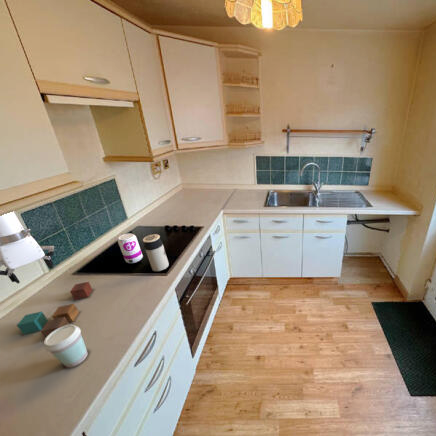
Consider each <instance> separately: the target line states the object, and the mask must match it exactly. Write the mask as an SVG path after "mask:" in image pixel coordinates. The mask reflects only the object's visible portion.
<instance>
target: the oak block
mask: <svg viewBox="0 0 436 436" xmlns="http://www.w3.org/2000/svg"><path fill="white" fill-rule="evenodd" d="M79 312H80V311H79V310H78V308H77V307H76V305H75V303H70V304H66V305H61V306H58V307H57V308H56V310H55V311H54V313H53V314H52V315H51V318H52V320H53V319H58V318H62V317H65V318H66V319H67V321H68V323H69V324H71V323H74V322H75V320H76V318H77V316H78V315H79V314H80V313H79Z"/></svg>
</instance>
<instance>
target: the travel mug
mask: <svg viewBox="0 0 436 436" xmlns="http://www.w3.org/2000/svg"><path fill="white" fill-rule="evenodd" d="M160 237H161V235H160V234H157V233H156V234H155V233H154V234H149V235H147V236H145V237H144V238H142V242H144V243H143V247H144V250H145V253H146V256H147V258H148V261H149V264H150V268H151V269H152V271H153V272H161V271H163V270H166V269H167V268H168V267H169V266H170V265H169V264H170V263H169V260H168V257H167V253H166V250H165V247H164V243H163V240H162V239H160Z"/></svg>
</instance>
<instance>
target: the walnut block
mask: <svg viewBox="0 0 436 436" xmlns="http://www.w3.org/2000/svg"><path fill="white" fill-rule="evenodd" d="M65 325H71V323H68V321H67V319H66V318H65V317H62V318H58V319H53V318H52V319H50V320H49V319H48V321H47V322H46V324H45V325H44V326H43V328H42V329H41V330H40V333H41V335H42V336H43V337H44V340H45V339H46V337H47V336H48V335H49V334H50V333H52V332H53V331H54V330H56V329H58V328H60V327H62V326H65Z"/></svg>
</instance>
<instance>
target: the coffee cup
mask: <svg viewBox="0 0 436 436" xmlns="http://www.w3.org/2000/svg"><path fill="white" fill-rule="evenodd" d="M43 348H44V351H46V352H49V353H50V354H51V355H52V356H53V357H55V358H56V359H57V360H58V361H59V362H60V363H61V364H62V365H64V366H65V367H66V368H73V367H76V366H78V365H80V364H81V363H82V362H84V360H85V359H87V357H88V355H89V354H88V350H87V346H86V343H85V342H84V339H83V336H82V329H81V328H80V327H79V326H77V325H75V324H70V325H65V326H62V327H60V328H58V329H56V330H54V331H53V332H52V333H50V334H49V335H48V336H47V337H46V339H45V338H44V341H43Z"/></svg>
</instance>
